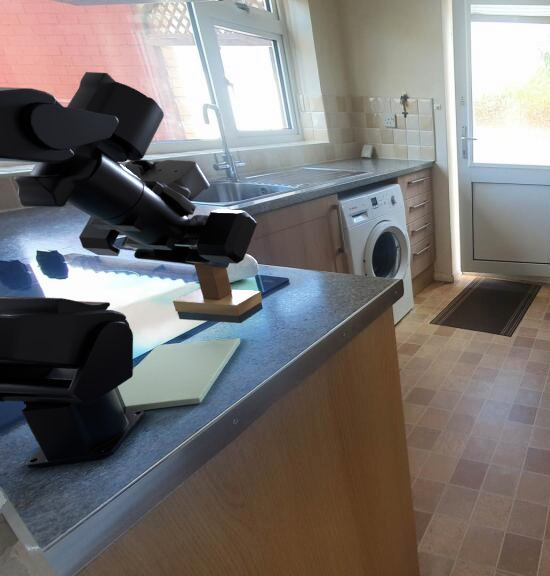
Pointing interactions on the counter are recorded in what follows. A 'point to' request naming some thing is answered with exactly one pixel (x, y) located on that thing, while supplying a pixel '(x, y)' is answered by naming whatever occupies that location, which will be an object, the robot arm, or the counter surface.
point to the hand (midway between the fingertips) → (218, 264)
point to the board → (176, 374)
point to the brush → (217, 299)
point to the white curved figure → (242, 269)
